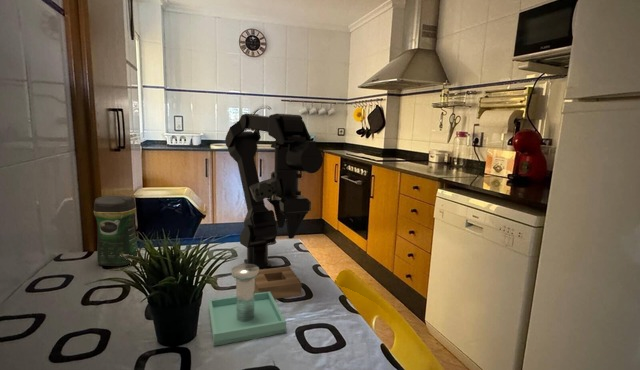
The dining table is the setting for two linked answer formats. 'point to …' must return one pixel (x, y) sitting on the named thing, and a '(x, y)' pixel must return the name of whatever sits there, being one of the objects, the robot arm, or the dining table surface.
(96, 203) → the coffee jar
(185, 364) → the dining table surface
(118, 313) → the dining table surface
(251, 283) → the steel pin
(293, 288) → the block
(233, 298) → the tray
